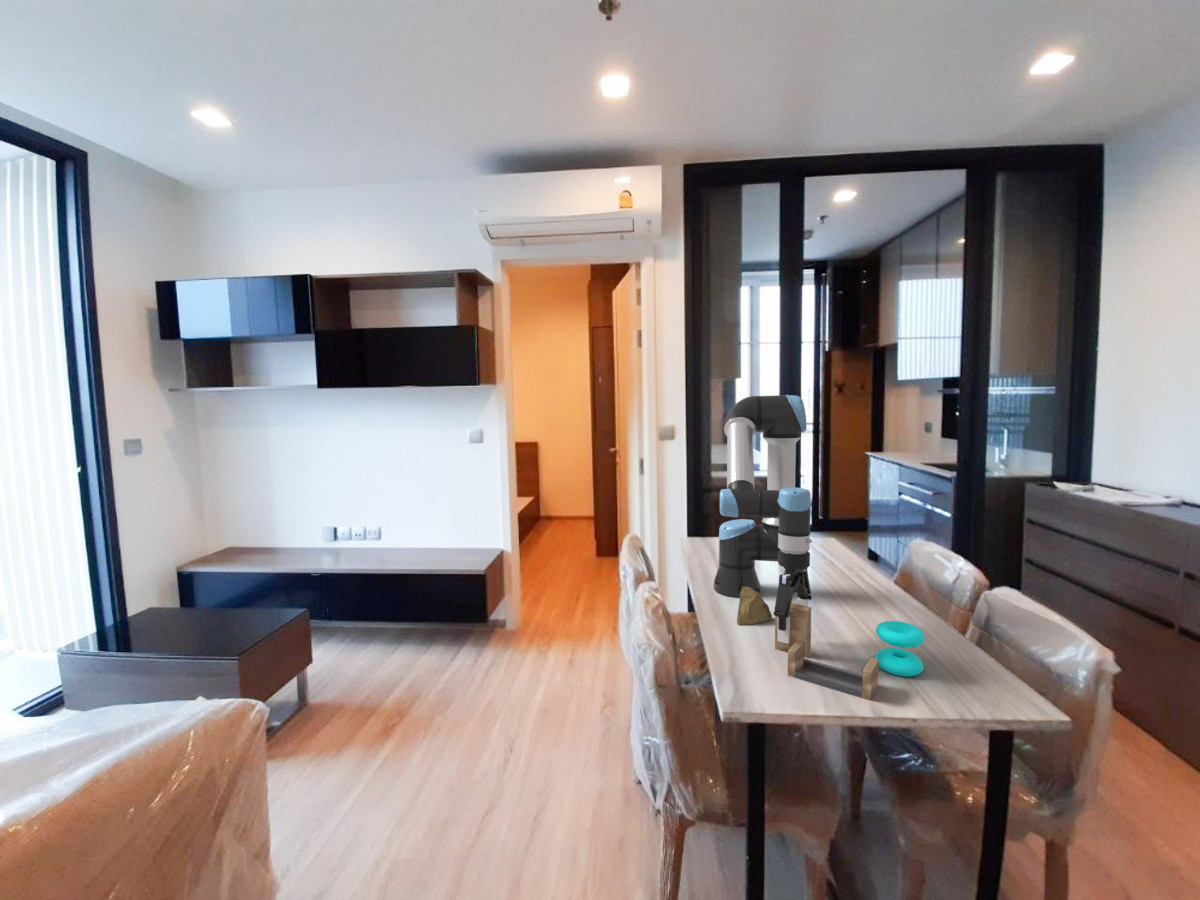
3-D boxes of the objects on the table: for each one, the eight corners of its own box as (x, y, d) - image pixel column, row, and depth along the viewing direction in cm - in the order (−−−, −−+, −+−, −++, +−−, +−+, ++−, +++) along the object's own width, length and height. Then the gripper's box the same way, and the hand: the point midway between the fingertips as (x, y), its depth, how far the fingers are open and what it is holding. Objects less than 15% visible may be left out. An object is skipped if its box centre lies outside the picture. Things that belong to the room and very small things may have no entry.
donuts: (870, 617, 133) (914, 620, 131) (869, 656, 134) (913, 659, 132) (884, 635, 123) (932, 638, 122) (883, 677, 124) (930, 680, 122)
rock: (773, 606, 161) (739, 599, 164) (777, 590, 155) (741, 583, 158) (770, 639, 154) (734, 631, 157) (773, 624, 148) (736, 615, 151)
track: (794, 677, 125) (794, 671, 125) (804, 664, 131) (805, 658, 131) (862, 697, 116) (862, 691, 116) (870, 683, 122) (870, 676, 122)
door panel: (774, 649, 139) (775, 604, 138) (779, 644, 142) (779, 600, 140) (806, 657, 134) (807, 611, 133) (810, 653, 137) (811, 607, 135)
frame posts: (787, 675, 126) (787, 650, 125) (798, 662, 132) (798, 639, 131) (870, 700, 115) (871, 673, 114) (877, 685, 121) (878, 659, 120)
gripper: (791, 564, 123) (790, 654, 125) (824, 541, 143) (823, 619, 144) (759, 559, 128) (759, 646, 130) (795, 537, 147) (794, 613, 149)
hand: (792, 632), depth 137 cm, fingers open, 13 cm apart
